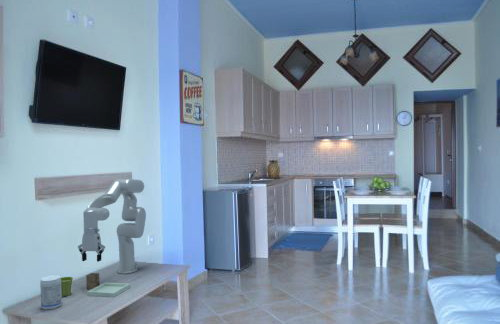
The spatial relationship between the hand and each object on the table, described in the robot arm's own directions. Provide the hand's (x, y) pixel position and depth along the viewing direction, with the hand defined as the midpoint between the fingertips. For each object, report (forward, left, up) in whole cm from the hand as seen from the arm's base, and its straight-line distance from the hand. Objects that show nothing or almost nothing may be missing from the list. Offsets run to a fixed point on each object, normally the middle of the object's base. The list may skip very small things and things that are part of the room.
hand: (91, 260), depth 237 cm
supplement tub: (+30, -3, -16) cm, 34 cm away
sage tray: (+4, +13, -16) cm, 21 cm away
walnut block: (0, 0, -16) cm, 16 cm away
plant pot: (+13, -9, -16) cm, 22 cm away
